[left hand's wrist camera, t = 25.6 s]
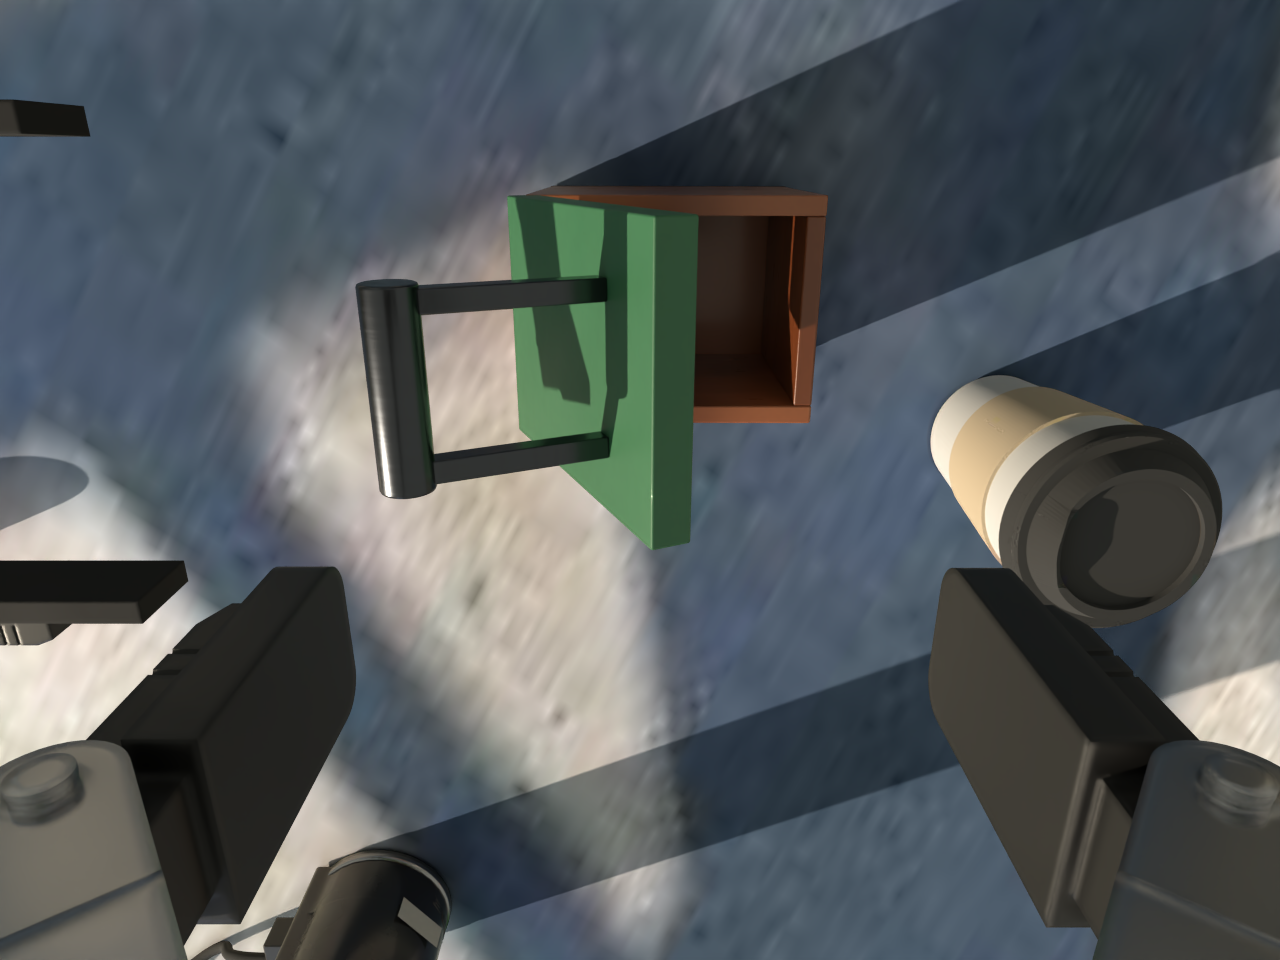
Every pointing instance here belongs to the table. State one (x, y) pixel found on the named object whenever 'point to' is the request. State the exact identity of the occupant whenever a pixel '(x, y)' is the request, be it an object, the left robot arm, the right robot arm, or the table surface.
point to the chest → (745, 293)
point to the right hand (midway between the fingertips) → (116, 379)
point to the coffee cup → (1079, 498)
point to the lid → (560, 361)
